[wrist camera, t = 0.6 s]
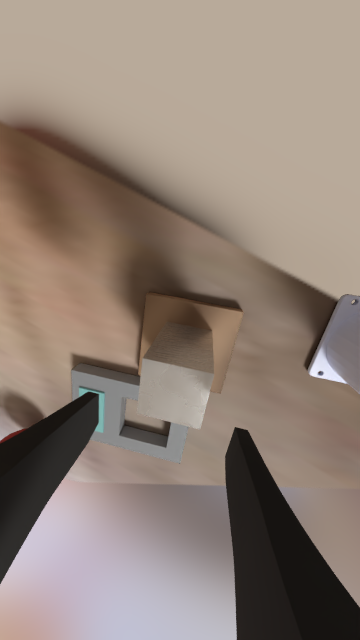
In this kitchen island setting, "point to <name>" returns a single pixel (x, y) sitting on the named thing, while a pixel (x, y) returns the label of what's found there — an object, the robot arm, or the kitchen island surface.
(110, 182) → the kitchen island surface
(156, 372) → the steel peg
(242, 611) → the robot arm
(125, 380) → the hole plate
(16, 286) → the kitchen island surface
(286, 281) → the kitchen island surface
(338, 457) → the kitchen island surface
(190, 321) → the brown square plate
